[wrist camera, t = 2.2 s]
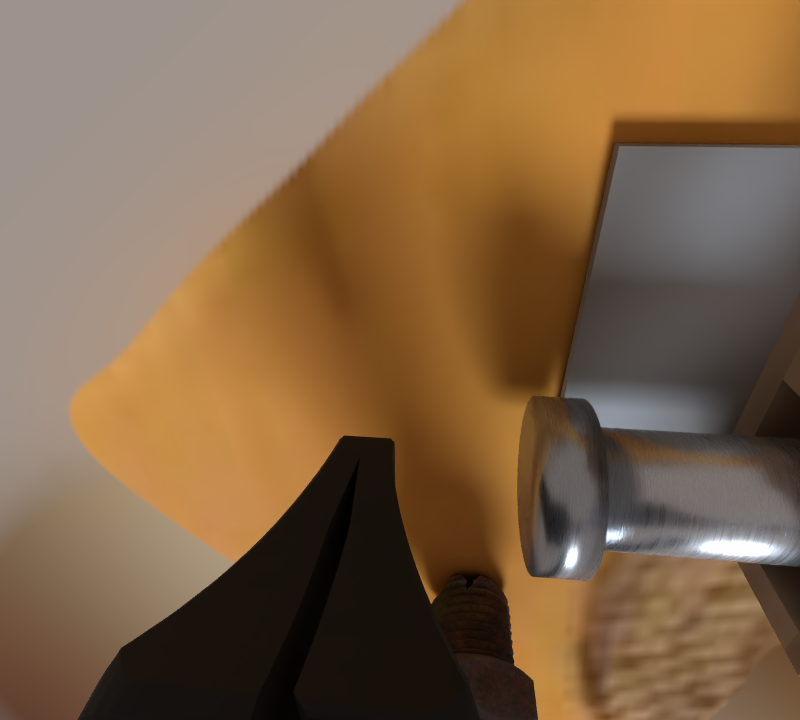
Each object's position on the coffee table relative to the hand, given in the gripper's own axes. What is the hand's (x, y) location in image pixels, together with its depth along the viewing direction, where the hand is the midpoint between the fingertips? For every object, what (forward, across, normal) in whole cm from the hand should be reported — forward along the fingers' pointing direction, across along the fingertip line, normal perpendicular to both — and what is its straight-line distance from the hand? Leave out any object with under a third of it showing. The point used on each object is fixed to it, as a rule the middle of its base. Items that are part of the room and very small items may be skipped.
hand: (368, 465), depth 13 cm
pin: (+2, -9, 0) cm, 9 cm away
